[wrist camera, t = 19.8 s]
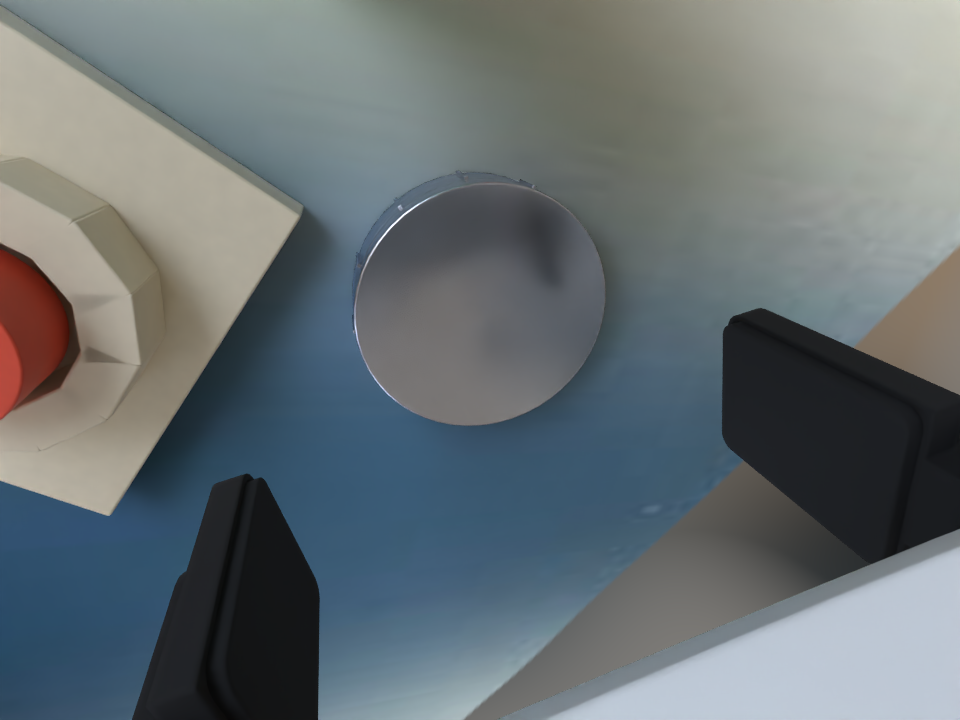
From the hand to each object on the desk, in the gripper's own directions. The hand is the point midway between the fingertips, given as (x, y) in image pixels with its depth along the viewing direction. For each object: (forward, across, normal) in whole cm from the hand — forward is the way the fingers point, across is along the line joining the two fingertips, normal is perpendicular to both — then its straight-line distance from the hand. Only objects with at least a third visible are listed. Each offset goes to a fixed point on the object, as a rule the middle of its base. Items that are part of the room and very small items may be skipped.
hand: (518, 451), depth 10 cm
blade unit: (+6, -1, 0) cm, 6 cm away
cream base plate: (+8, +10, -4) cm, 14 cm away
